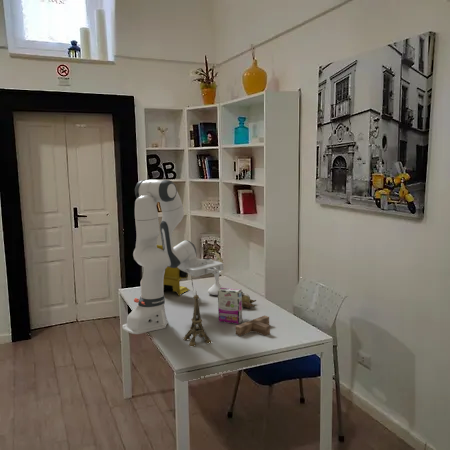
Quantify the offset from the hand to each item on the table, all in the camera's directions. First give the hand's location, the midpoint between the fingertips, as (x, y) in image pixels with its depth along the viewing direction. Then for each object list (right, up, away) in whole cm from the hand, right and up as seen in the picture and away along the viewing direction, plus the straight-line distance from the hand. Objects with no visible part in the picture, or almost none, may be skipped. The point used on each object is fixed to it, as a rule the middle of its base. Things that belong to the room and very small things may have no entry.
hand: (216, 271), depth 231 cm
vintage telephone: (-26, -18, +48) cm, 57 cm away
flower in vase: (0, -18, +43) cm, 47 cm away
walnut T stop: (+21, -26, -18) cm, 38 cm away
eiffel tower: (-8, -28, -27) cm, 40 cm away
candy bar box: (+7, -25, -4) cm, 26 cm away
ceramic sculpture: (+14, -21, +19) cm, 32 cm away
